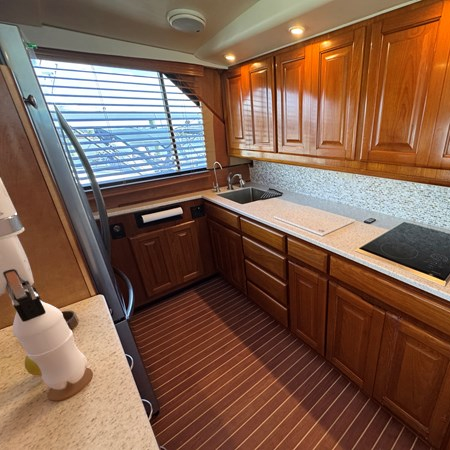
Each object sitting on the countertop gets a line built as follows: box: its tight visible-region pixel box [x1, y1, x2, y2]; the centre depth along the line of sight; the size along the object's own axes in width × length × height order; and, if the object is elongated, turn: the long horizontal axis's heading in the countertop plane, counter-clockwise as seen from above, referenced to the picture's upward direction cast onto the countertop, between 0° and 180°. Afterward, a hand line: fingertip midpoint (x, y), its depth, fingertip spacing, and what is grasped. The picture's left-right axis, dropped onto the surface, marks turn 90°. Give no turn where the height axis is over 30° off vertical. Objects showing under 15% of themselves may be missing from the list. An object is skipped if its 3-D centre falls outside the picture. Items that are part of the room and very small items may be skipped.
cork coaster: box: [47, 367, 94, 403], centre depth 56 cm, size 8×8×1 cm
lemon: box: [24, 355, 42, 377], centre depth 57 cm, size 6×6×8 cm
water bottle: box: [8, 287, 88, 389], centre depth 51 cm, size 7×7×25 cm
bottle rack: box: [61, 310, 80, 331], centre depth 72 cm, size 9×9×3 cm
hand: (32, 311), depth 48 cm, fingers closed on water bottle, 4 cm apart
